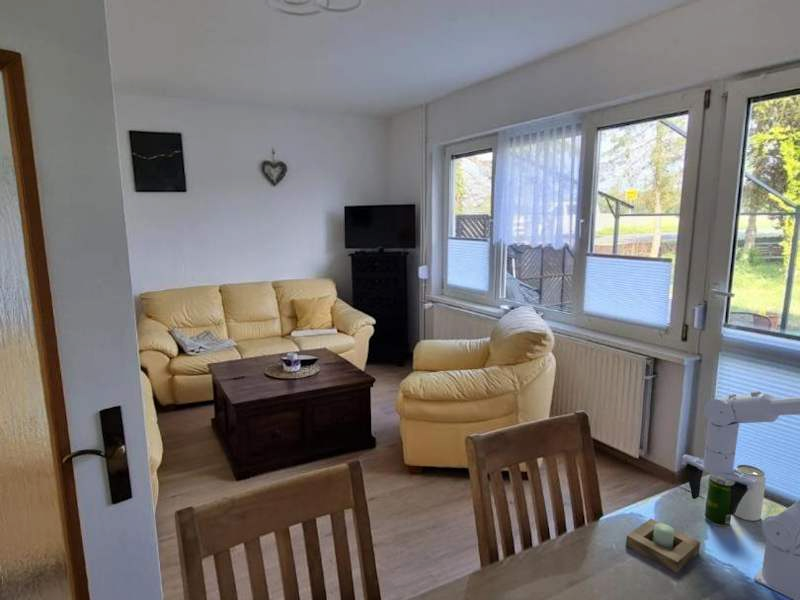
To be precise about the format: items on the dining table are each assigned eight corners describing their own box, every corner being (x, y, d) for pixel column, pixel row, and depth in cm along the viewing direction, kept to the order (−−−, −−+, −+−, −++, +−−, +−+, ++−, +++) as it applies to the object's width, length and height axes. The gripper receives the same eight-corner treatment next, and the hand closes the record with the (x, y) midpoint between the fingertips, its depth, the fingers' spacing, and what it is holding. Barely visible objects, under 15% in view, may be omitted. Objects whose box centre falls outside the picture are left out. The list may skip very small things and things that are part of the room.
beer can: (733, 522, 122) (739, 476, 120) (725, 530, 119) (731, 484, 117) (709, 512, 126) (714, 468, 124) (700, 519, 123) (706, 474, 121)
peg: (675, 550, 111) (677, 529, 111) (667, 557, 109) (669, 536, 108) (657, 541, 114) (659, 521, 114) (648, 547, 112) (651, 527, 111)
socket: (698, 552, 111) (700, 542, 110) (676, 572, 104) (677, 561, 104) (649, 527, 119) (650, 518, 119) (625, 545, 113) (626, 535, 112)
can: (734, 519, 123) (740, 474, 122) (725, 505, 130) (731, 462, 128) (764, 524, 122) (771, 478, 120) (754, 509, 128) (760, 466, 126)
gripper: (764, 456, 108) (756, 513, 110) (693, 433, 119) (687, 485, 122) (752, 465, 104) (744, 525, 106) (680, 441, 115) (674, 495, 117)
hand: (713, 504), depth 114 cm, fingers open, 7 cm apart
